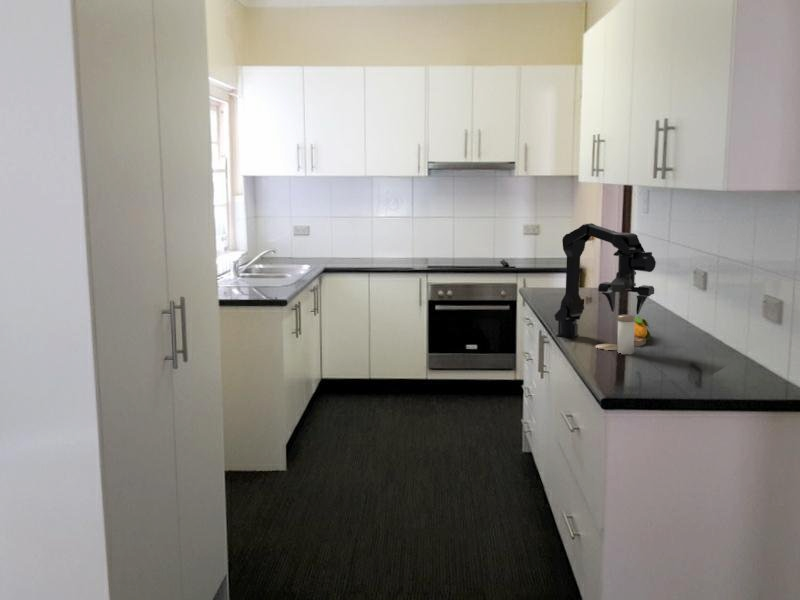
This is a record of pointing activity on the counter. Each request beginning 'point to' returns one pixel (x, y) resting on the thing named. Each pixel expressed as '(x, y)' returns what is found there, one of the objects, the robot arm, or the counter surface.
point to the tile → (639, 341)
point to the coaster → (607, 346)
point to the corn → (641, 328)
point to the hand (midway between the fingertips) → (625, 312)
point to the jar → (625, 334)
